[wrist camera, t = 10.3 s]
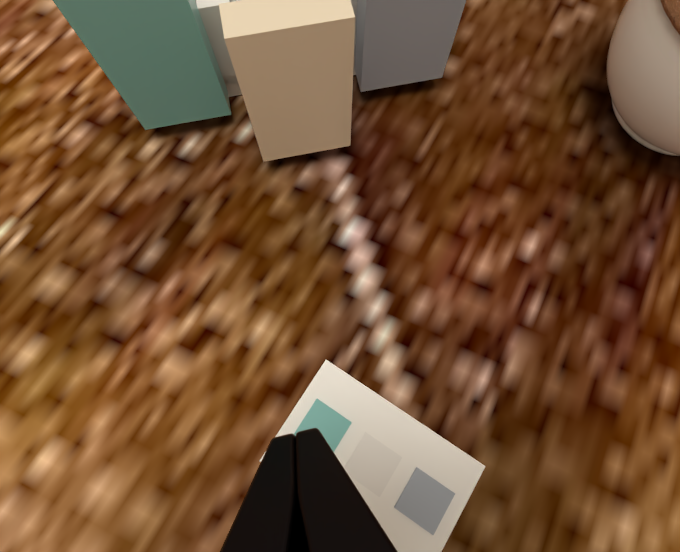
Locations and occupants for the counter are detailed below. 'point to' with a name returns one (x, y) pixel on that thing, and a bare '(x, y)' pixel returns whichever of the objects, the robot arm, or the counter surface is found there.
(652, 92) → the lidded jar
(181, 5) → the button teal
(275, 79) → the button tan
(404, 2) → the drawer slate
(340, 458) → the card
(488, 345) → the counter surface
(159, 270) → the counter surface
